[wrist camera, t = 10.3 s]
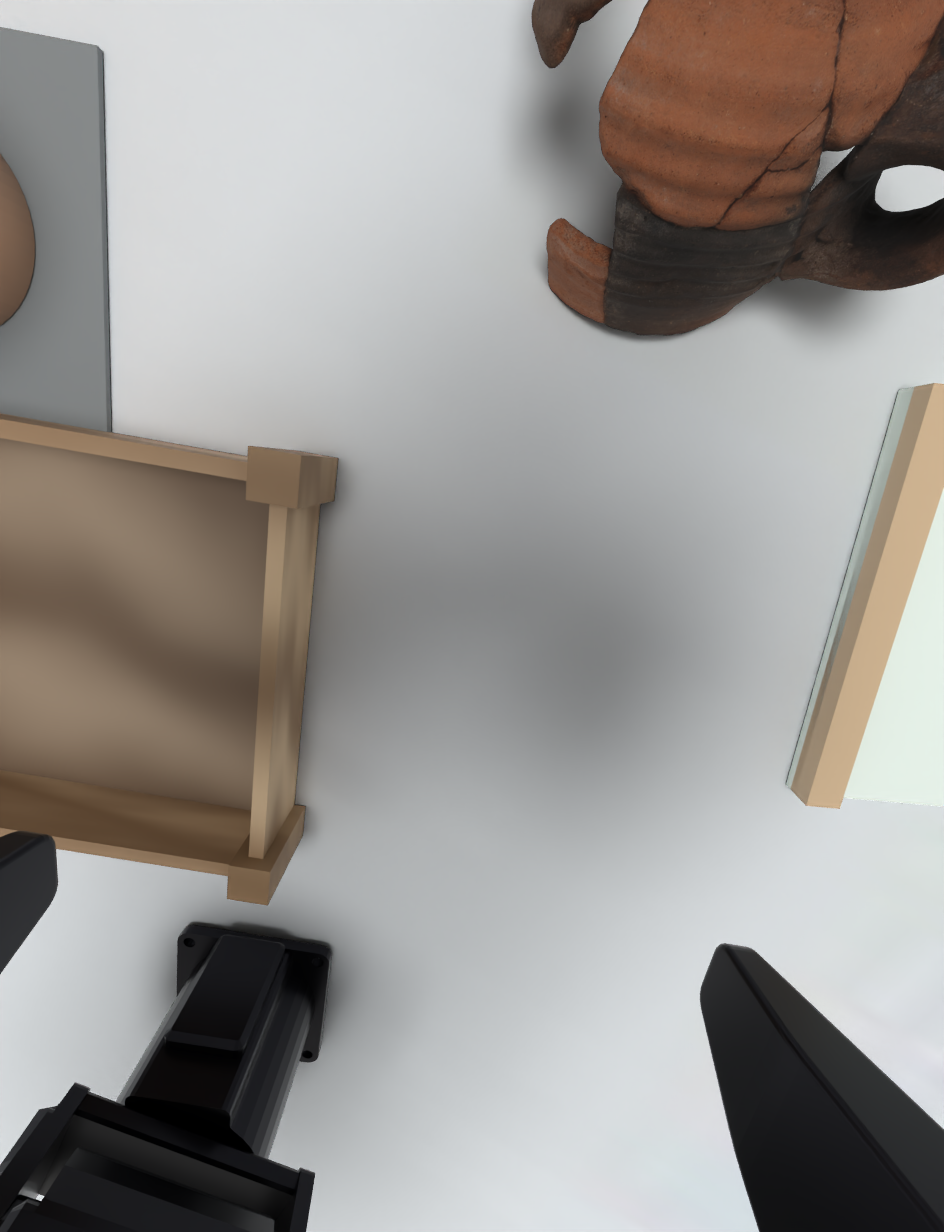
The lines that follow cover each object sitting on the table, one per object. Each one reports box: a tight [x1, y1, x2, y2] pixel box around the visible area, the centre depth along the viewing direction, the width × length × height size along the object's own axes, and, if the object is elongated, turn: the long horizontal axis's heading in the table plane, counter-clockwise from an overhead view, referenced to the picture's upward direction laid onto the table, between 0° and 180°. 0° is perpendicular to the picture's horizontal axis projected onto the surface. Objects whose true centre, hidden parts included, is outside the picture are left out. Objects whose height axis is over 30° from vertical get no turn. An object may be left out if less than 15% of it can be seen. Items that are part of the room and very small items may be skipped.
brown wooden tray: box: [0, 413, 338, 905], centre depth 17 cm, size 15×15×4 cm
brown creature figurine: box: [532, 0, 944, 335], centre depth 12 cm, size 12×10×8 cm
